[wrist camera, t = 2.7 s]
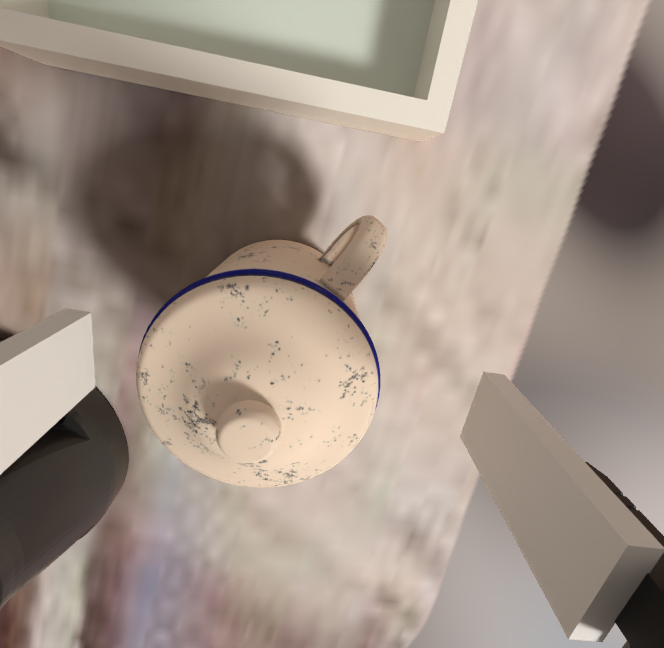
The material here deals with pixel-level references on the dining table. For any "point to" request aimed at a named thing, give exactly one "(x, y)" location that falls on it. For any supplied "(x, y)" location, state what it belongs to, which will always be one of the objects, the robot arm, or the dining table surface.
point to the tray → (265, 53)
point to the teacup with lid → (266, 362)
